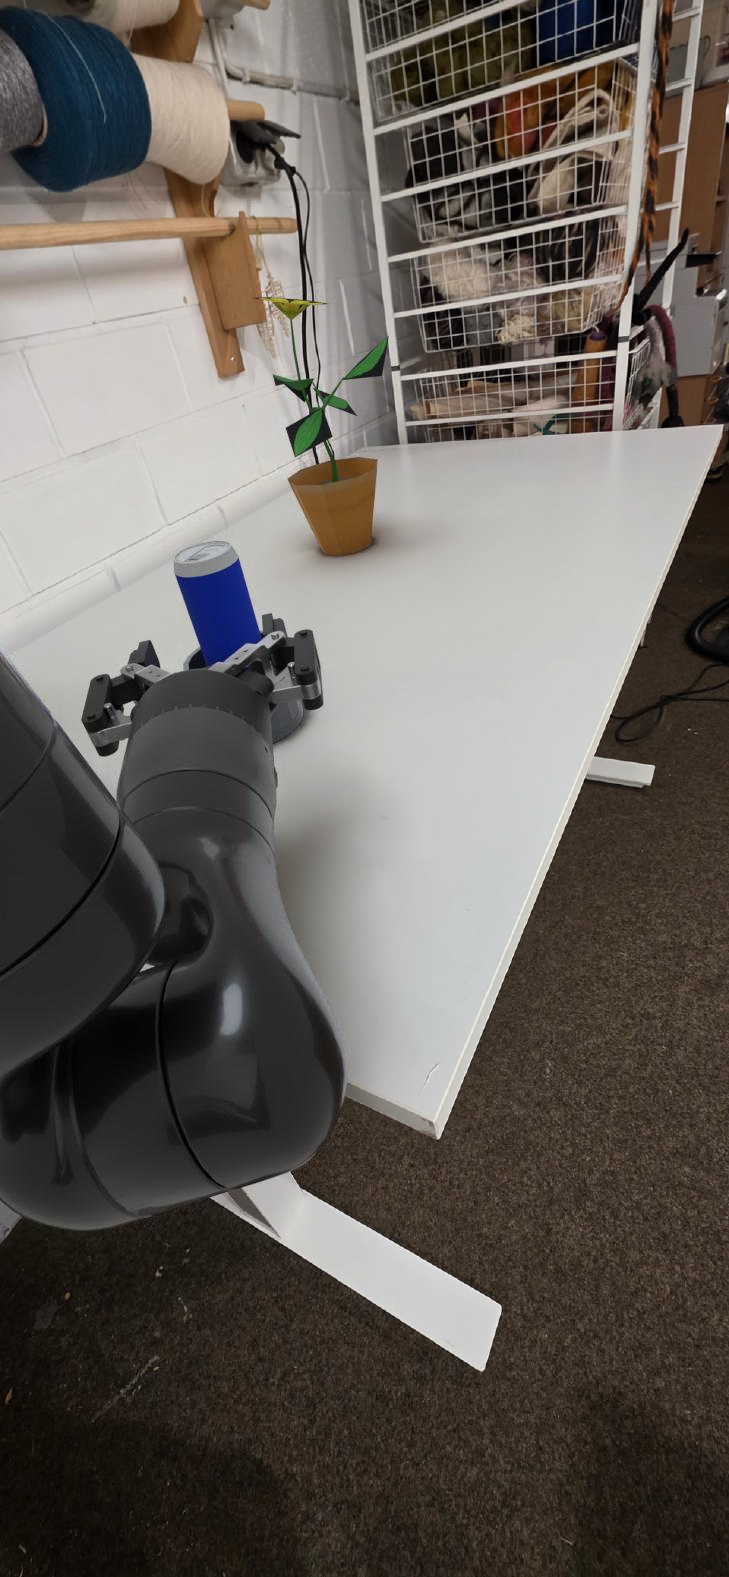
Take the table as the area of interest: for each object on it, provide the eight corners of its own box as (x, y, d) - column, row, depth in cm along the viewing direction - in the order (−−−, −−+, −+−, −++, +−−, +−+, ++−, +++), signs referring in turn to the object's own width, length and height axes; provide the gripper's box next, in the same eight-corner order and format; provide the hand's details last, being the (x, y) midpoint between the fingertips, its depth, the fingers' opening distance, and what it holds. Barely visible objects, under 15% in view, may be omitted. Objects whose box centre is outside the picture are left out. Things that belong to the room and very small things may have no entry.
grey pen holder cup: (210, 761, 58) (184, 692, 54) (205, 711, 65) (182, 646, 61) (310, 734, 59) (292, 663, 55) (295, 687, 66) (278, 621, 62)
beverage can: (249, 694, 64) (200, 538, 55) (292, 703, 62) (248, 540, 53) (214, 724, 61) (156, 563, 52) (258, 734, 59) (204, 566, 49)
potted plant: (372, 574, 86) (325, 284, 67) (260, 566, 95) (192, 309, 77) (435, 524, 97) (410, 263, 78) (329, 521, 106) (284, 287, 88)
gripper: (322, 679, 32) (297, 565, 45) (27, 745, 32) (87, 611, 45) (350, 799, 37) (320, 664, 49) (93, 857, 36) (130, 707, 49)
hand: (210, 639), depth 47 cm, fingers open, 8 cm apart
